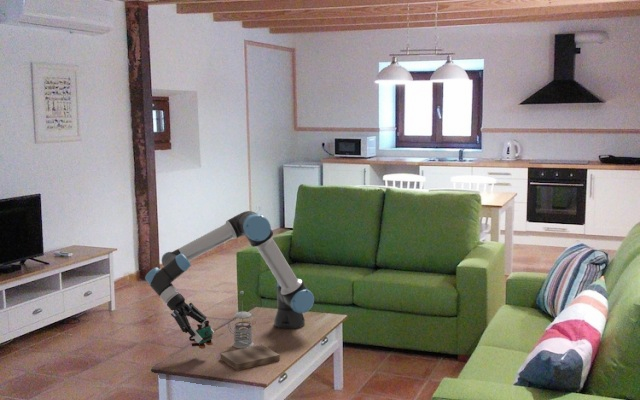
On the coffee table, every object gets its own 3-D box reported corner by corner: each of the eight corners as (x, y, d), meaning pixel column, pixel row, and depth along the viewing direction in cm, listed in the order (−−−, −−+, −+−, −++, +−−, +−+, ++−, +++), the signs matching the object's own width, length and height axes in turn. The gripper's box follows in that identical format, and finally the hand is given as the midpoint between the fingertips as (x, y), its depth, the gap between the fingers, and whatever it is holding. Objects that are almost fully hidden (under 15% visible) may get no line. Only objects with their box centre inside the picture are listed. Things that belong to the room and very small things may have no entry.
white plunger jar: (250, 348, 306) (249, 294, 303) (225, 347, 309) (224, 293, 306) (256, 341, 316) (255, 288, 313) (232, 340, 318) (231, 287, 315)
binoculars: (196, 319, 301) (214, 319, 296) (199, 342, 302) (217, 343, 297) (182, 324, 294) (200, 325, 288) (185, 348, 294) (203, 350, 289)
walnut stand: (261, 349, 305) (261, 344, 304) (279, 360, 291) (279, 354, 291) (220, 359, 294) (220, 353, 293) (237, 370, 280) (236, 364, 280)
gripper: (181, 297, 309) (214, 335, 305) (153, 310, 289) (187, 351, 285) (191, 286, 307) (224, 324, 303) (163, 299, 287) (197, 340, 283)
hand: (206, 337), depth 294 cm, fingers closed on binoculars, 9 cm apart
